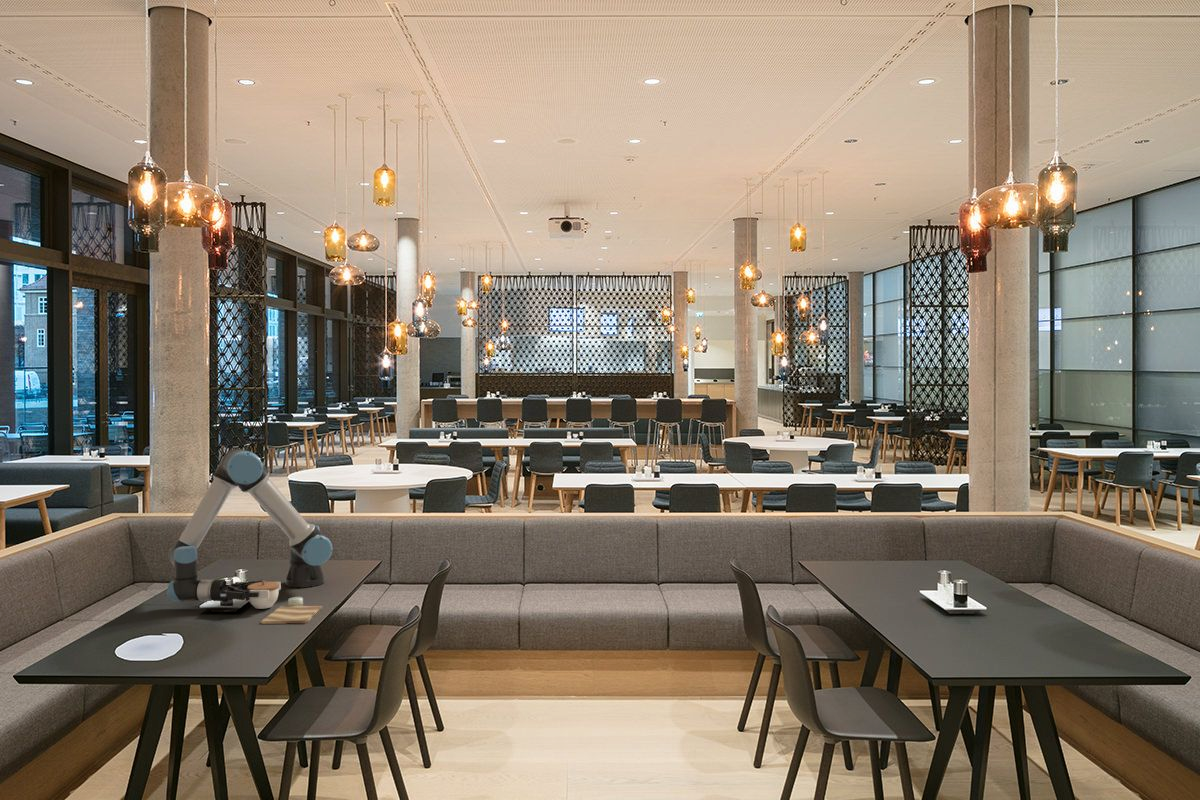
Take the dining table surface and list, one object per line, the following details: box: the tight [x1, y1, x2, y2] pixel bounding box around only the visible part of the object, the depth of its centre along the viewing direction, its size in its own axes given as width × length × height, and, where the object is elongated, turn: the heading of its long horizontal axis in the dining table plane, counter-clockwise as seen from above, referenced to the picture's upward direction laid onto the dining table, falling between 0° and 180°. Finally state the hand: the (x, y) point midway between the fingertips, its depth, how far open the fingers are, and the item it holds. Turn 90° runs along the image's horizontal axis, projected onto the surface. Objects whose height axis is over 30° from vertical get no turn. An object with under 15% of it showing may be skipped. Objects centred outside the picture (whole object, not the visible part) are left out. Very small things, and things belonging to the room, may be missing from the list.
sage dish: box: [287, 596, 304, 606], centre depth 317 cm, size 5×5×3 cm
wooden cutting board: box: [261, 605, 323, 625], centre depth 305 cm, size 18×15×1 cm
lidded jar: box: [247, 580, 280, 610], centre depth 315 cm, size 11×11×9 cm
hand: (274, 589), depth 315 cm, fingers closed on lidded jar, 11 cm apart
